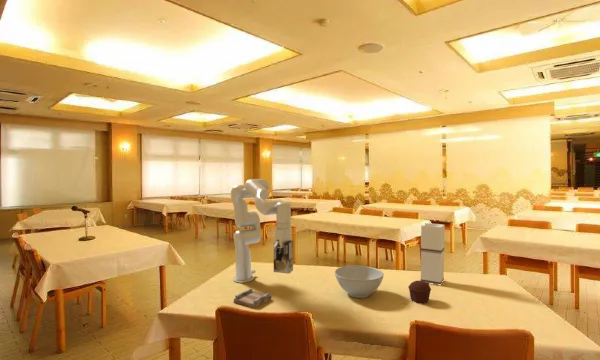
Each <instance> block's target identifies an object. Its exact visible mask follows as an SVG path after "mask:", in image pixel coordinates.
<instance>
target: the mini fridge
mask: <svg viewBox="0 0 600 360" xmlns="http://www.w3.org/2000/svg"><path fill="white" fill-rule="evenodd" d="M420 229H421V230H420V232H421V233H420V239H421V240H420V281H424V282H426V283H433V284H441V283H442V281H443V280H445V278H444V269H445V268H444V264H445V262H444V261H445V258H444V257H445V224H440V223H426V222H425V223H424V225H420ZM443 282H444V281H443ZM442 284H443V283H442Z"/></svg>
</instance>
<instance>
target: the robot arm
mask: <svg viewBox="0 0 600 360" xmlns="http://www.w3.org/2000/svg"><path fill="white" fill-rule="evenodd" d="M269 188H270V185H269V181H268V180H266V179H265V178H251V179H248V180H247V181H246V182H245V183H244V184H237V185H234V186H233V187H232V188H231V190H230V198H231V202H232V205H233V214H234V224H235V226H236V228H244V229H239V230H237V231H235V232H234V234H233V242H234V250H235V252H234V253H235V254H234V255H235V276H234V277H233V280H232V281H233V282H235V283H238V284H239V283H240V284H244V283H249V282H252V281H253V280H254V278H255V277H254V276H253V274H255V273H256V270H255V269H254V270H252V253H251V249H250V247H249V246H248V245H252V244H253V245H254V244H257V243H259V242H260V241H261V239H262V231H261V219H260V216H259V213H260V214H261V215H264V216H271V215H272V216H273V215H276V217H275V218H276V222H275V223H276V224H275V225H276V226H275V232H274V239H273V240H274V241H273V242H274V247H273V251H274V250H275V252H276V260H278V261H282V253H281V251H282V248H284V243H286V242H288V241H293V239H292V227H291V224H292V223H291V220H292V219H291V217H292V215H291V214H292V213H291V212H292V210H291V209H292V207H291V206H292V205H291V202H288V201H284V200H282V199H278V200H277V199H276V200H275V199H274V200H267V199H268V198H269V195H270V193H269V190H270V189H269ZM245 199H254V206H255V208H256V210H257V211H258V212H259V213H258V212H257V211H249V210H248V208H249V207H248V204H247V201H245ZM249 227H250V228H249ZM278 245H280V247H278ZM278 248H279V249H280V250H279V249H278Z"/></svg>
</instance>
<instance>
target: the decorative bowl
mask: <svg viewBox="0 0 600 360" xmlns="http://www.w3.org/2000/svg"><path fill="white" fill-rule="evenodd" d="M334 275H335V279H336V280H337V282H338V285H339V286H340V287H341V288H342V289H343V290H344V291H345V292H346V293H347V294H348V296H350V297H352V298H358V299H362V298H364V299H365V298H369V297H370V296H371V294H373V293H374V292H376V291H377V290H378V289H379V287H380V286H381V284H382V282H383V278H384V272H383V271H382V270H380V269H378V268H376V267H373V266H367V265H355V264H354V265H343V266H340V267H338V268H337V269H335V270H334Z"/></svg>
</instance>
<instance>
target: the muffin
mask: <svg viewBox="0 0 600 360" xmlns="http://www.w3.org/2000/svg"><path fill="white" fill-rule="evenodd" d="M408 290H409V295H410V296H409V297H410V300H411V302H413V301H414V303H415V302H416V304H420V303H423V304H427V303H429V302H428V301H430V295H431V290H432V288H431V286H430V284H427V283H426V282H424V281H421V280H415V281H412V282H411V283H410V284H409V285H408Z"/></svg>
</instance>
